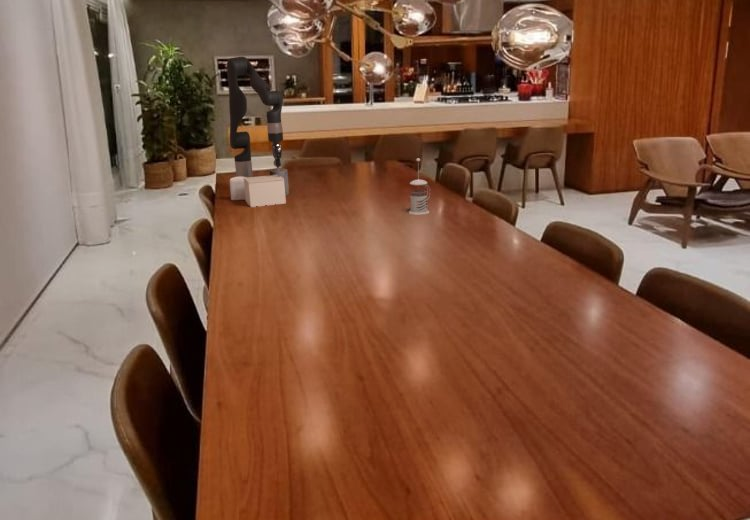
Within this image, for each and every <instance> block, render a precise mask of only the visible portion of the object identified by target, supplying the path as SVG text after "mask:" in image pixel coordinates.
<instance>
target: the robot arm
mask: <svg viewBox="0 0 750 520" xmlns="http://www.w3.org/2000/svg"><path fill="white" fill-rule="evenodd" d="M226 72H227V73H226V74H227V80H228V81H227V82H228V95H229V96H228V102H229V103H228V105H229V143H230V147H231V148H232V149H233V150H238V149H239V150H240V149H243V150H242V151H241V152H240V153H238V154H236V155H235V156H234V167H235V175H236V176H235V177H239V176H242V177H247V178H248V177H254V173H253V163H252V154H251V152H252V151H251V150H252V149H251V137H250V133H249V132H248V131H246V130H245V131H238V127H239V126H240V123H241V122H242V121H243V119H244V117H245V116H246V114H247V111H248V107H247V106H248V103H247V101H248V100H247V97H246V95H245V93H244V92H243V91H242V89H241V88H240V86H239V84H238V77H239V76H245V75H247V76H249V83H250V84H249V85H250V87H251V88H252V89H253V91H254V93H256V94H257V95H258V96H259V98H260V100H261V102H262V104H263V105H265V106H267V107H269V106H271V107H272V109H270V110H268V111H267V112H266V123H267V126H266V127H267V128H266V130H267V138H268V139H267V140H268V142H269V143H272V145H271V146H270V147H271V148H270V149H271V151H272V157H273V158H274V160H276V166H277V167H278V166H280V167H281V166H282V165H281V163H280V160H281V159H282V153H283V152H282V151H283V149H282V145H281V143H280V142H283V141H284V134H283V133H284V132H283V124H282V108H283V105H284V96H283V93H282V92H281V91H279V90H272V88H271V86H270V85H269V84H268V83H267V82H266V81H265V80H264V79H263V78H262V77H261V76H260V75H259V73H258V72H257V70H256V69H255V67H254V66H253V64H252V63H251V62H250V60H249V59H248V58H247V57H246V56H236V57H231V58H228V59H227V61H226ZM276 166H275V167H276ZM277 167H276V168H277Z"/></svg>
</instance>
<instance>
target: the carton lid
mask: <svg viewBox="0 0 750 520" xmlns="http://www.w3.org/2000/svg"><path fill="white" fill-rule="evenodd" d="M280 163H281V166H282V165H283V161H282V160H281V159H280ZM273 166H274V167H276V169H277V175H270V174H269V175H261V176H260V175H259V176H253V177H248V178H244V180H245V181H246V182H248V183H256V182H266V181H276V180H284V178H282V177H281V176H280V168H281V166H278V167H277V166H276V160H275V159H274V161H273Z"/></svg>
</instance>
